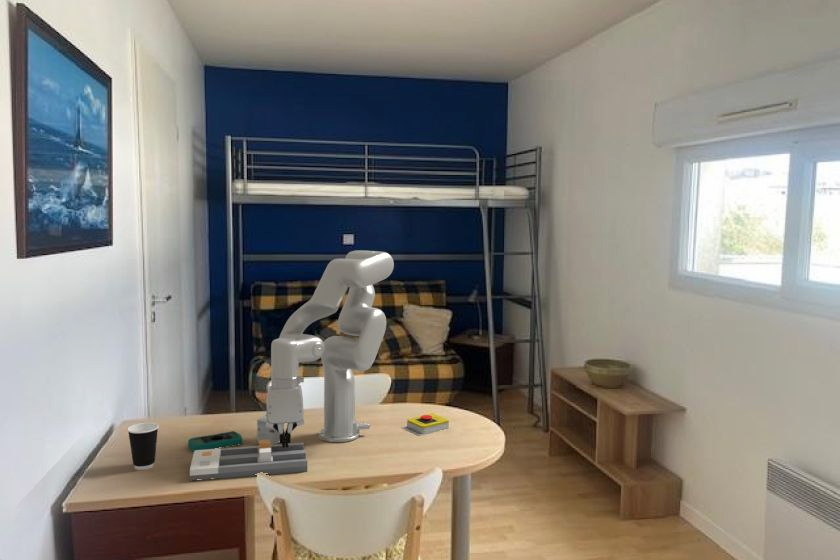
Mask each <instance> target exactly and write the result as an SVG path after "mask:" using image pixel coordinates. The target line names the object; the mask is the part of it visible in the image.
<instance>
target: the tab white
mask: <svg viewBox="0 0 840 560" xmlns="http://www.w3.org/2000/svg"><path fill="white" fill-rule="evenodd" d="M259 456H260V457H258V463H263V462H273V456H271V448H262V449H259Z"/></svg>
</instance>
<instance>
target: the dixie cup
mask: <svg viewBox="0 0 840 560" xmlns="http://www.w3.org/2000/svg"><path fill="white" fill-rule="evenodd" d="M159 426H160V425H159V424H158V423H156V422H155V423H154V422H141V423H136V424H132V425H130V426H128V428H127V429H126V430H127V432H128V438H129V445H130V451H131V458H132V464H133V466H134V469H135V470H139V471H143V470H144V471H145V470H149V469H151V468H153V467H154V463H156V455H157V453H156V452H157V442H158V441H157V440H158V432H159V431H158V429H159Z"/></svg>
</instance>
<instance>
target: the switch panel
mask: <svg viewBox="0 0 840 560" xmlns="http://www.w3.org/2000/svg"><path fill="white" fill-rule="evenodd" d="M270 447H272V452H271V456H273V462H263V463H258V457H260V456H259V453H258V449H257V448H259V445H257V446H256V445H254V446H253V445H252V446H238V447H224V448H219V449H206V450H195V451H194V452H193V455H192V459H191V463H190V468H189V481H190V480H197V479H211V478H223V479H230V478H231V479H232V478H234V477H235V478H245V477H256V476H255V474H257V473H260V472H263V473H268V474H270V475H281V474H293V473H304V472H308V458H307V453H306V452H307V451H306V449H305V443H304V442H296V443H295V442H294V443H288V447H286V446H285V447H284V448H282V444H280V443H279V444H275V445H270ZM235 478H234V479H235Z"/></svg>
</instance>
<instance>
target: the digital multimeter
mask: <svg viewBox="0 0 840 560" xmlns="http://www.w3.org/2000/svg"><path fill="white" fill-rule="evenodd" d="M187 442H188V443H187V444H188V446H187V447H188V448H189V449H190V451H191V450H192V453H194V451H195V450H206V449H215V448H219V447H224V448H227V447H226V446H230V447H233V446H232V445H236V446H239V445H238V444H241V445H243V437H242V435H241V434H240V433H239V432H236V431H235V430H232V431H226V432H221V433H217V434H210V435H209V434H208V435H202V436H197V437H190V438H189V439H188V441H187Z"/></svg>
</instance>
